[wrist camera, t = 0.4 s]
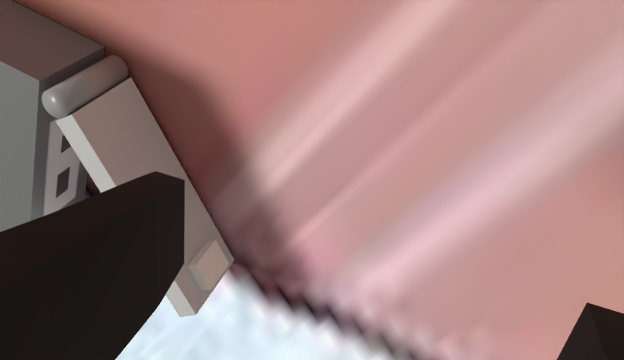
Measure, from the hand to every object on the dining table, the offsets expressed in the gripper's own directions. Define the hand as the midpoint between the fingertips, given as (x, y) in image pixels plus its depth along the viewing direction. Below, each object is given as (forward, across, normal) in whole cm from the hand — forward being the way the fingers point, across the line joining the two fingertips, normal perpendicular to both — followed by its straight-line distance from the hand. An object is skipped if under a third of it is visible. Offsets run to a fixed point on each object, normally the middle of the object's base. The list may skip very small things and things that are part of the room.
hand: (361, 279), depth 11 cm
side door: (+10, +9, +6) cm, 15 cm away
